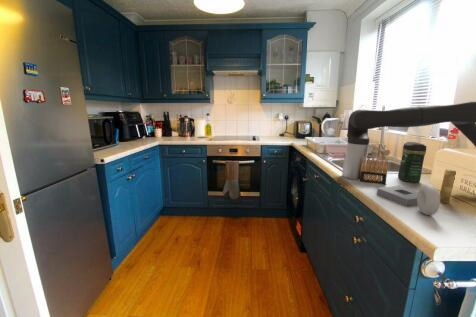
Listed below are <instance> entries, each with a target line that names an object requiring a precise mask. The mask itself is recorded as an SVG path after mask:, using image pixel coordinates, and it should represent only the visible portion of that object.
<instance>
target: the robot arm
mask: <svg viewBox="0 0 476 317" xmlns="http://www.w3.org/2000/svg"><path fill="white" fill-rule="evenodd" d="M442 123H443V124H444V123H451V124H452V126H454V127H455V128H456V129H458V131H460V133H462V134H463V136H465V138H466V139H468V140H469V142H471V144H473V146H474V147H475V148H476V101H467V102H462V103H454V104H445V105H442V104H441V105H438V104H437V105H435V104H433V105H413V106H411V105H410V106H401V107H397V108H392V109H388V110H375V109H373V110H372V109H356V110H354V111H353V112H352V113H350V115H349V118H348V123H347V134H346V136H347V145H346V153H345V156H344V158H343V164H342V173H341V175H342V176H343V177H344V178H346V179H350V180H357V181H359V178H360V173H361V166H362V162H363V159H364V157H365V158H366V162H365V168H366V164H367V160H368V152H369V145H370V137H369V133H368V132H369V130H371V129H378V128H379V129H380V128H385V127H386V128H387V127H388V128H391V127H393V128H414V127H415V128H417V127H418V128H419V127H425V126H432V125H437V124H442Z"/></svg>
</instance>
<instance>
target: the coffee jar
mask: <svg viewBox="0 0 476 317" xmlns="http://www.w3.org/2000/svg"><path fill="white" fill-rule="evenodd" d="M426 153H427V145H425V144H422V143H420V142H416V141H406V142H405V143H403V145H402V154H401V160H400V164H399V170H398V174H397V177H398V178H399V179H400V180H401V181H404V182H409V183H420V182H421V178H422V172H423V171H422V170H423V167H424V166H423V165H424V159H425V155H426Z"/></svg>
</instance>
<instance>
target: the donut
mask: <svg viewBox="0 0 476 317" xmlns="http://www.w3.org/2000/svg"><path fill="white" fill-rule="evenodd" d="M417 191H418V194H417V207H418V210H419V211H420V213H422V214H424V215H426V216H432V215H435V214H436V213H438V210H439V208H440V205H441V202H440V191H439V190H438V189H437V188H436V186H434V185H432V184H428V183H427V184H423V185H421V187H419V189H418V190H417Z"/></svg>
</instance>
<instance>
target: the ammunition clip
mask: <svg viewBox="0 0 476 317" xmlns="http://www.w3.org/2000/svg"><path fill="white" fill-rule="evenodd" d="M365 162H366V168H365ZM379 162H380V163H379ZM388 166H389V160H388V158H386V159H385V161H384V158H383V157H382V158H381V159H380V160H379V157H377V158H376V160H375V157H372V159H371V158H370V156H368V157H367V161H366V158H365V157H364V159H363V162H362V166H361V173H360V178H359V180H358V182H362V183H369V184H377V185H383V186H386V184H387V174H388V168H389V167H388Z"/></svg>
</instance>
